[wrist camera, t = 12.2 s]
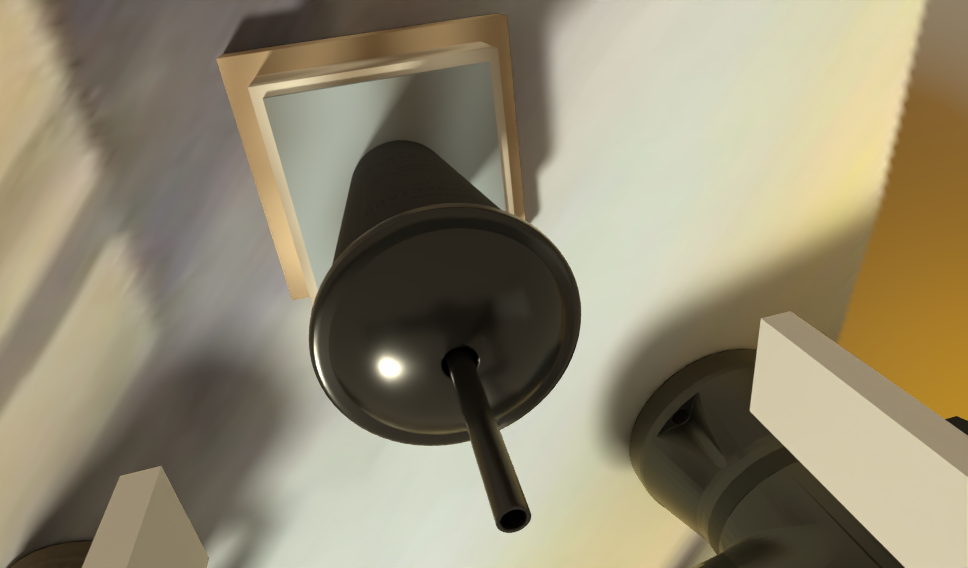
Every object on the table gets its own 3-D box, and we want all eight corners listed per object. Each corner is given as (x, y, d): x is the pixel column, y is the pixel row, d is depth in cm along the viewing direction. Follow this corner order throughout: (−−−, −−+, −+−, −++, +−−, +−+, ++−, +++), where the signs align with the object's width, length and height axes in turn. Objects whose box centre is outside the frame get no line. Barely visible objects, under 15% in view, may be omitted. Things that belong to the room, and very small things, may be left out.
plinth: (496, 13, 31) (529, 19, 26) (518, 237, 37) (548, 277, 32) (222, 54, 29) (201, 69, 24) (293, 284, 35) (288, 334, 30)
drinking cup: (409, 70, 26) (569, 249, 9) (509, 195, 30) (761, 497, 12) (281, 183, 27) (193, 549, 10) (394, 290, 31) (478, 696, 13)
